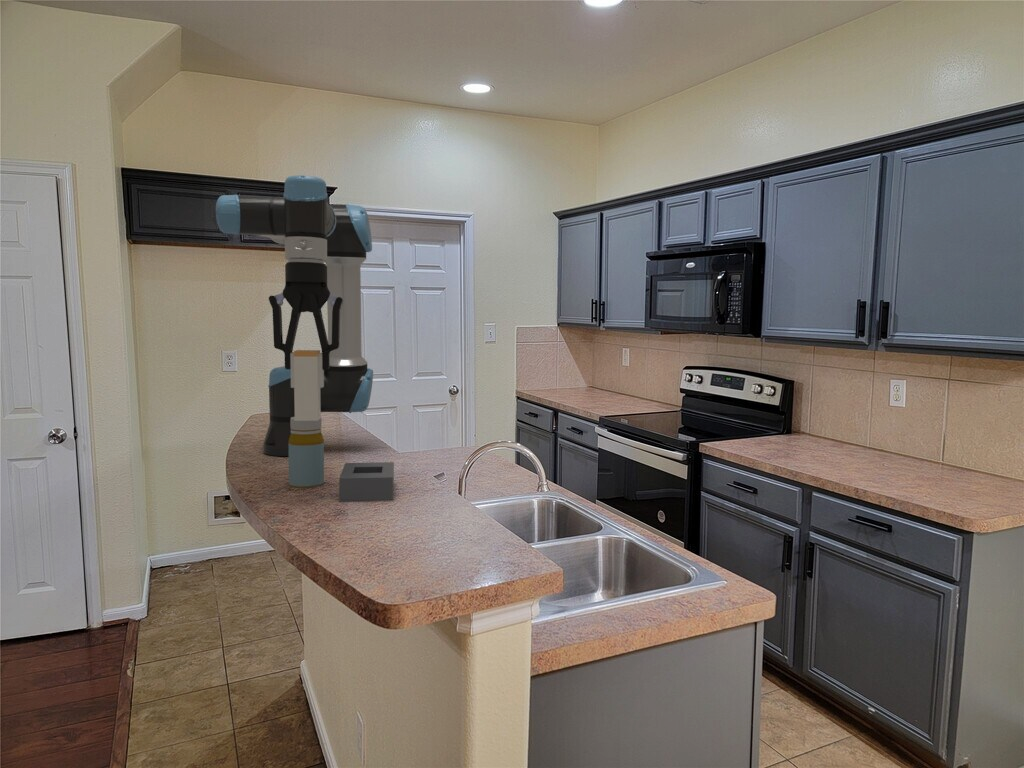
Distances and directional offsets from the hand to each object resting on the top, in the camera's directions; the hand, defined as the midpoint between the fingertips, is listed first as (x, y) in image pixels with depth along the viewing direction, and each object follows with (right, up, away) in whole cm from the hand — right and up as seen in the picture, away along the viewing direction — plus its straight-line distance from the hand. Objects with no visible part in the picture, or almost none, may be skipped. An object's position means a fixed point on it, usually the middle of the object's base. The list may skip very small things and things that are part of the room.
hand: (307, 386), depth 127 cm
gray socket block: (+10, -22, +8) cm, 25 cm away
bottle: (-4, -22, +14) cm, 26 cm away
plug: (0, -6, +1) cm, 6 cm away
